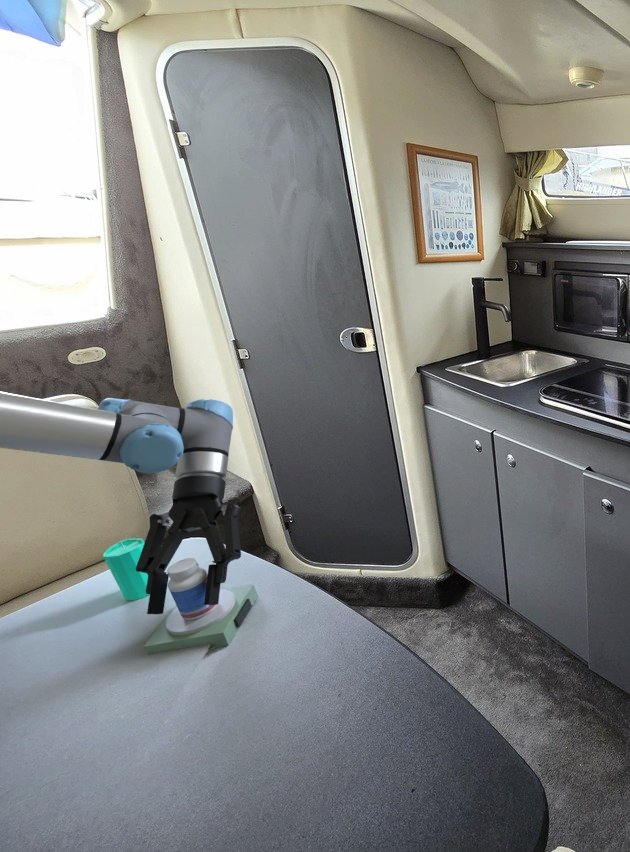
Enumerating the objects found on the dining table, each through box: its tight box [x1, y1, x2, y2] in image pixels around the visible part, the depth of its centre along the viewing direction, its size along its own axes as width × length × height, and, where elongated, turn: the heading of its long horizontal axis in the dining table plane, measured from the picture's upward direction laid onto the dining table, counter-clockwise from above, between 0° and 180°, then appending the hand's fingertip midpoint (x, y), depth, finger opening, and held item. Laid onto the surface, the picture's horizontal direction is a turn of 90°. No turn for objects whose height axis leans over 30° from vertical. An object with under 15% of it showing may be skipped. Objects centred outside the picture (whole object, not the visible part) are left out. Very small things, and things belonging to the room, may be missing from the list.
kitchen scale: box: [143, 583, 259, 655], centre depth 89 cm, size 12×12×4 cm
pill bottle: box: [166, 557, 218, 620], centre depth 86 cm, size 6×5×10 cm
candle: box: [102, 538, 150, 601], centre depth 97 cm, size 6×6×12 cm
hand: (183, 608), depth 84 cm, fingers open, 8 cm apart
